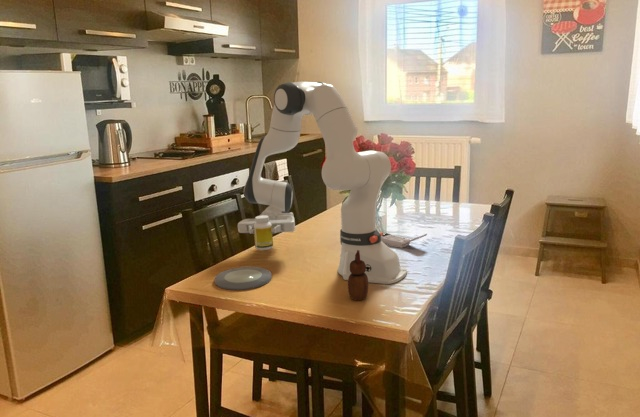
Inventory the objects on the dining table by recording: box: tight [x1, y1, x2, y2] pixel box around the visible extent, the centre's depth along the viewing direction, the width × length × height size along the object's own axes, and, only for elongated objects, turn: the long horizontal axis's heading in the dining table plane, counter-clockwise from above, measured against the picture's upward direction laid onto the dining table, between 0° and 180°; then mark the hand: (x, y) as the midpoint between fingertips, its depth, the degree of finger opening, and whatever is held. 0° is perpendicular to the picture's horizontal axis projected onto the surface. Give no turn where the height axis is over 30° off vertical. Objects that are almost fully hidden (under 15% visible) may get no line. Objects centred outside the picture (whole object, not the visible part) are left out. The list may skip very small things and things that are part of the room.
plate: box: [214, 266, 272, 291], centre depth 171 cm, size 18×18×1 cm
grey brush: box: [381, 232, 428, 249], centre depth 202 cm, size 6×6×25 cm
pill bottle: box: [253, 215, 274, 251], centre depth 182 cm, size 6×6×11 cm
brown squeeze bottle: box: [347, 250, 369, 301], centre depth 151 cm, size 7×6×15 cm
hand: (262, 231), depth 181 cm, fingers closed on pill bottle, 6 cm apart
